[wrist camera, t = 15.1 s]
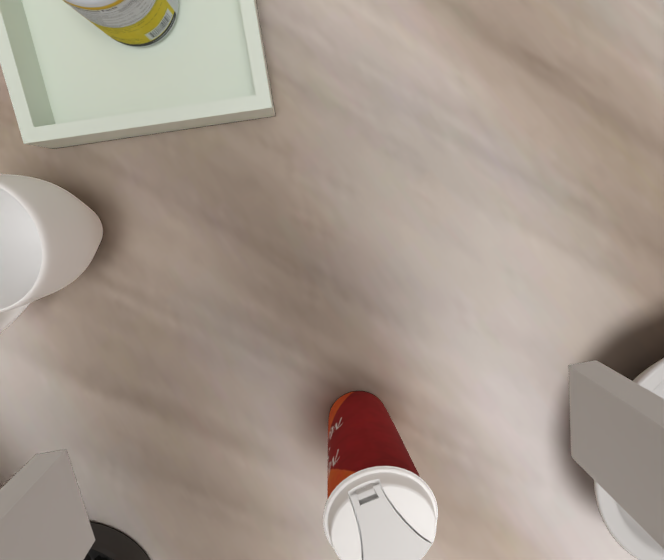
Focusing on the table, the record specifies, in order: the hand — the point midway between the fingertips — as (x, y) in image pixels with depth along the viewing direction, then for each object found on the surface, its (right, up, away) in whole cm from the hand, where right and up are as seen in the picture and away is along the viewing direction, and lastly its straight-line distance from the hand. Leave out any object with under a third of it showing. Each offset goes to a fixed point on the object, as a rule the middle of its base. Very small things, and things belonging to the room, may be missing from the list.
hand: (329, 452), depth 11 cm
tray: (-15, +25, +21) cm, 36 cm away
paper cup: (+3, -9, +29) cm, 31 cm away
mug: (-22, +7, +25) cm, 34 cm away
